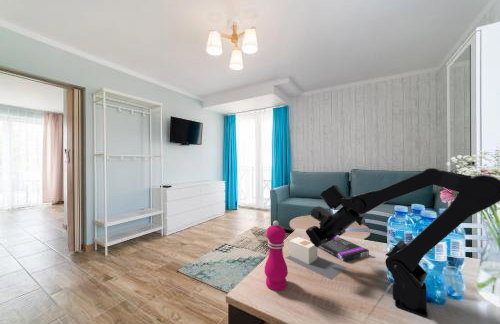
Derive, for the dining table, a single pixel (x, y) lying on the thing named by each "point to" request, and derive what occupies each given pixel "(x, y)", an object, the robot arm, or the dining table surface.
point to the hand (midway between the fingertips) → (312, 242)
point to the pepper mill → (276, 258)
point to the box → (344, 249)
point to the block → (302, 250)
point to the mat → (321, 266)
